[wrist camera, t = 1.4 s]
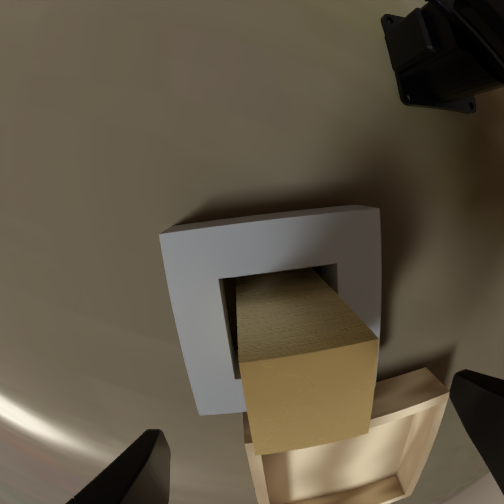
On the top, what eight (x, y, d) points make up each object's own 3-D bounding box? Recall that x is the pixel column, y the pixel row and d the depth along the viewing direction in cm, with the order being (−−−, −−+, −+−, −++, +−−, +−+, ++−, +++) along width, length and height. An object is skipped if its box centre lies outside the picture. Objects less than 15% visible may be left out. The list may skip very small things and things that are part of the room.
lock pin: (308, 264, 17) (379, 338, 8) (312, 329, 18) (368, 433, 9) (235, 273, 17) (238, 363, 8) (244, 339, 18) (255, 455, 9)
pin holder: (355, 204, 16) (379, 208, 13) (357, 361, 18) (375, 386, 15) (172, 226, 16) (158, 234, 13) (203, 385, 18) (199, 415, 15)
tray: (425, 367, 19) (449, 391, 16) (397, 471, 22) (410, 495, 18) (242, 407, 19) (244, 443, 15) (262, 503, 21) (265, 532, 18)
